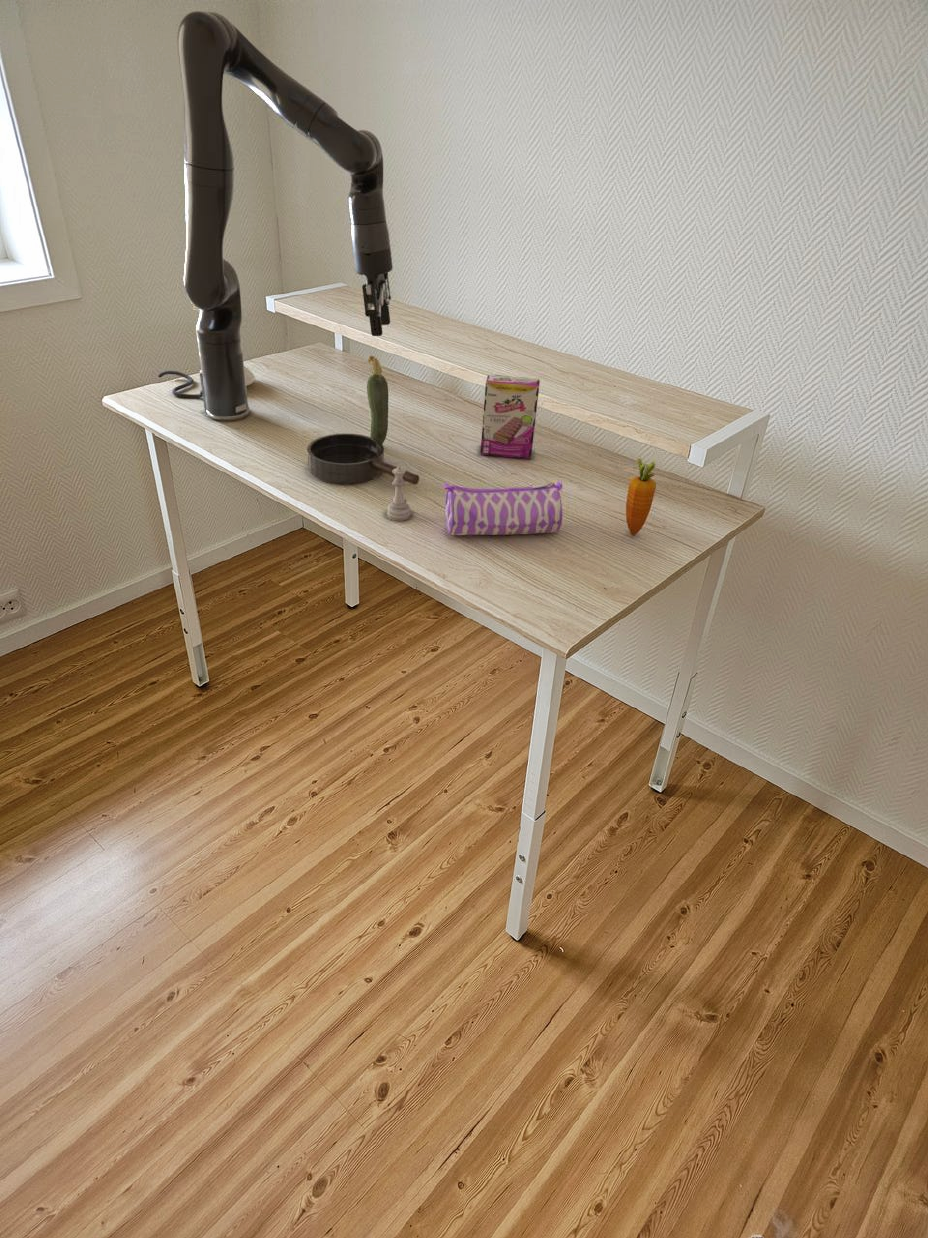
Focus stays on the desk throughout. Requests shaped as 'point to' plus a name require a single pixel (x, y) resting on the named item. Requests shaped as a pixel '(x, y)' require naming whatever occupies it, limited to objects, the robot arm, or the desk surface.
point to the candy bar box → (509, 416)
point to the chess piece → (398, 498)
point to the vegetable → (378, 401)
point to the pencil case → (503, 510)
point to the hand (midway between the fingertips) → (381, 329)
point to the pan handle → (389, 468)
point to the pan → (344, 458)
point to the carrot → (640, 498)
